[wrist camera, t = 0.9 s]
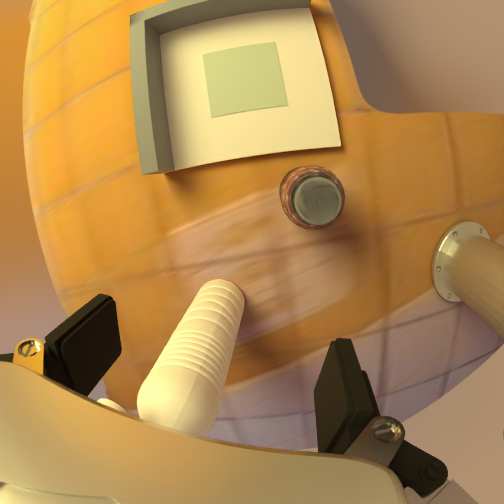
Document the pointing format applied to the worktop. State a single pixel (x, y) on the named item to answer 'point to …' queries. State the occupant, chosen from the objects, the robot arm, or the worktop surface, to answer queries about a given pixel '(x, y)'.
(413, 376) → the worktop surface
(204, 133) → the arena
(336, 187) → the supplement bottle
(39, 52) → the worktop surface
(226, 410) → the worktop surface
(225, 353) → the water bottle
